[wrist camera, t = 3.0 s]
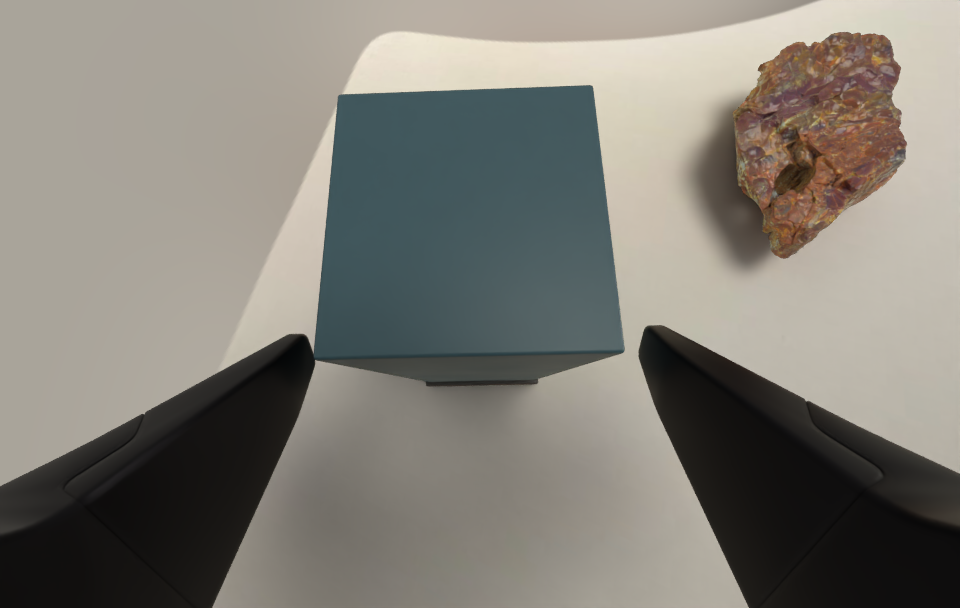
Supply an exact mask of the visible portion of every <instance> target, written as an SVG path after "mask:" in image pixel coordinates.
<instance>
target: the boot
mask: <svg viewBox="0 0 960 608" xmlns="http://www.w3.org/2000/svg"><path fill="white" fill-rule="evenodd" d="M624 350H625V348H624V340H623V332H622V323H621V315H620V307H619V299H618V290H617V282H616V274H615V265H614V257H613V249H612V241H611V232H610V224H609V216H608V207H607V199H606V191H605V182H604V174H603V166H602V158H601V149H600V141H599V133H598V124H597V116H596V108H595V100H594V91H593V87H592V86H591V85H586V86H559V87H532V88H505V89H478V90H451V91H424V92H397V93H370V94H343V95H339V96H338V103H337V114H336V124H335V135H334V145H333V156H332V166H331V177H330V187H329V198H328V208H327V219H326V229H325V240H324V250H323V261H322V271H321V282H320V293H319V303H318V314H317V324H316V335H315V345H314V359H315V360H317V361H323V362H328V363H333V364H338V365H343V366H349V367H354V368H359V369H364V370H369V371H375V372H380V373H385V374H390V375H395V376H401V377H406V378H411V379H416V380H421V381H426V386H477V385H524V384H537V383H538V378H542V377H545V376H548V375H552V374H555V373H558V372H562V371H565V370H568V369H572V368H575V367H578V366H581V365H585V364H588V363H591V362H595V361H598V360H601V359H605V358H608V357H611V356H615V355H618V354H621V353H623V352H624Z"/></svg>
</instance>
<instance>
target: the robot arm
mask: <svg viewBox="0 0 960 608" xmlns="http://www.w3.org/2000/svg"><path fill="white" fill-rule="evenodd" d="M639 360H640V363H641V366H642V369H643V372H644V375H645V378H646V381H647V384H648V387H649V390H650V393H651V396H652V399H653V402H654V405H655V407H656V410H657V412H658V415H659V417H660V419H661V421H662V423H663V425H664V428H665V430H666V432H667V434H668V436H669V438H670V440H671V442H672V445H673V447H674V449H675V451H676V453H677V455H678V457H679V460H680V462H681V464H682V466H683V468H684V470H685V472H686V474H687V477H688V479H689V481H690V483H691V485H692V487H693V489H694V492H695V494H696V496H697V498H698V500H699V502H700V504H701V506H702V509H703V511H704V513H705V515H706V517H707V519H708V521H709V523H710V526H711V528H712V530H713V532H714V534H715V536H716V538H717V541H718V543H719V545H720V547H721V549H722V551H723V553H724V555H725V558H726V560H727V562H728V564H729V566H730V568H731V570H732V573H733V575H734V577H735V579H736V581H737V583H738V585H739V587H740V590H741V592H742V594H743V596H744V598H745V600H746V602H747V605H748V607H749V608H960V474H959V473H957V472H955V471H953V470H950V469H948V468H946V467H944V466H942V465H940V464H937V463H935V462H933V461H931V460H929V459H927V458H925V457H922V456H920V455H918V454H916V453H914V452H912V451H909V450H907V449H905V448H903V447H901V446H899V445H896V444H894V443H892V442H890V441H888V440H886V439H884V438H882V437H880V436H878V435H875V434H873V433H871V432H869V431H867V430H865V429H863V428H861V427H859V426H857V425H855V424H853V423H851V422H849V421H847V420H845V419H843V418H841V417H839V416H837V415H835V414H833V413H831V412H829V411H827V410H825V409H823V408H821V407H819V406H817V405H815V404H813V403H812V402H810V401H805V399H804V398H802V397H800V396H798V395H796V394H794V393H792V392H790V391H788V390H786V389H784V388H782V387H781V386H779V385H777V384H775V383H773V382H771V381H769V380H767V379H765V378H763V377H761V376H759V375H757V374H755V373H754V372H752V371H750V370H748V369H746V368H744V367H742V366H740V365H738V364H736V363H734V362H732V361H730V360H729V359H727V358H725V357H723V356H721V355H719V354H717V353H715V352H713V351H711V350H709V349H707V348H705V347H703V346H702V345H700V344H698V343H696V342H694V341H692V340H690V339H688V338H686V337H684V336H682V335H680V334H678V333H677V332H675V331H673V330H671V329H669V328H667V327H665V326H662V325H654V326H647V327H646V328H645V329H644V332H643V336H642V340H641V344H640V348H639ZM314 367H315V359H314V354H313V351H312V348H311V345H310V343H309V340H308V337H307V336H306V335H304V334H289V335H286V336H285V337H283V338H281V339H279V340H277V341H275V342H274V343H272V344H270V345H268V346H266V347H264V348H263V349H261V350H259V351H257V352H255V353H253V354H252V355H250V356H248V357H246V358H244V359H242V360H241V361H239V362H237V363H235V364H233V365H231V366H230V367H228V368H226V369H224V370H222V371H220V372H218V373H217V374H215V375H213V376H211V377H209V378H207V379H206V380H204V381H202V382H200V383H199V384H196V385H195V386H193V387H191V388H189V389H187V390H185V391H184V392H182V393H180V394H178V395H176V396H174V397H173V398H171V399H169V400H167V401H165V402H163V403H161V404H160V405H158V406H156V407H154V408H152V409H151V410H149V411H147V412H146V413H145V415H144V414H141V415H139V416H137V417H136V418H134V419H132V420H130V421H128V422H126V423H125V424H123V425H121V426H119V427H117V428H115V429H113V430H111V431H110V432H108V433H106V434H104V435H102V436H100V437H98V438H96V439H94V440H93V441H91V442H89V443H87V444H85V445H83V446H81V447H79V448H77V449H75V450H73V451H71V452H69V453H67V454H65V455H63V456H61V457H59V458H57V459H55V460H53V461H51V462H49V463H47V464H45V465H43V466H41V467H38V468H36V469H34V470H33V471H30V472H29V473H26V474H24V475H22V476H20V477H18V478H16V479H14V480H12V481H10V482H8V483H6V484H4V485H2V486H0V608H212V606H213V604H214V602H215V600H216V598H217V595H218V593H219V591H220V589H221V586H222V584H223V582H224V580H225V578H226V575H227V573H228V571H229V569H230V567H231V564H232V562H233V560H234V558H235V556H236V553H237V551H238V549H239V547H240V544H241V542H242V540H243V538H244V536H245V533H246V531H247V529H248V527H249V525H250V522H251V520H252V518H253V516H254V514H255V511H256V509H257V507H258V505H259V503H260V500H261V498H262V496H263V494H264V491H265V489H266V487H267V485H268V483H269V480H270V478H271V476H272V474H273V472H274V469H275V467H276V465H277V463H278V461H279V458H280V456H281V454H282V452H283V449H284V447H285V445H286V443H287V441H288V438H289V436H290V434H291V432H292V430H293V427H294V425H295V423H296V420H297V418H298V416H299V413H300V410H301V407H302V404H303V401H304V398H305V395H306V392H307V389H308V386H309V383H310V379H311V376H312V373H313V370H314Z"/></svg>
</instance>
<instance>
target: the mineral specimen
mask: <svg viewBox="0 0 960 608" xmlns="http://www.w3.org/2000/svg"><path fill="white" fill-rule="evenodd" d="M893 55H894V54H893V49H892V46H891V42H890V40H888V38H886V37H885V36H884V35H876V34H865V35H862V36H861V34H860V33H855V34H851V33H849V32H838V33H834V34H831V35H830V36H829V37H828V38H826V39H825V40H824V41H822V43H817V42H814V43H813V44H812V45H811V46H808V47H807V46H806V45H805V43H804V42H796V43H793V44H792V45H790V46H787V47H786V48H785V49H783V50H781V52H780V54H779V55H778V56H776V57H775V58H774V60H771V61H768V62H766V63H763V64H761V65H760V66H759V68H758V71H760V72H761V75H760V77H759V78H758V84H757V87H755V88H754V89H753V90H752V91H751V93H750V95H749V96H748V97H747V98H746V100H745V102H744V103H742V104H741V105H740V107H738V109H737V110H735V111H734V112H733V116H734V122H735V126H734V128H735V145H736V154H737V165H736V170H737V172H738V186H740V187H741V189H742V191H743V193H744V194H746V195H747V196H748V197H749V198H751V199H753V200H754V201H755V202H756V203H757V204H758V206H759V207H760V209H761V210H762V211H761V212H762V213H763V214H764V219H763V232H765V233H766V234H767V233H770V232H771V233H770V236H769V240H770V247H771V251H772V252H773V253H774V254H775V255H776V256H778V257H780V258H788V257H789V256H791V255H793V254H795V253H797V251H798V250H799V249H801V248H802V247H804V245H805V244H807V243H808V242H810V241H812V240H813V239H814V238H815V237H816V236H817V234H818V233H819V232H820V231H821V230H822V229H824V228H826V227H828V226H829V225H830V224H831V223H832V222H833V221H834V220H835V219H836V218H837V217H838V215H840V213H841V212H842V211H843V210H845V209H847V208H848V207H850V206H852V205H855V204H857V203H858V202H860V201H862V200H864V199H865V198H867V197H868V196H869V195H871V194H872V193H873V192H875V191H877V190H878V189H879V188H880V187H882V186H883V185H885V184H886V183H887V182H888V181H889V180H890V179H891V178H892V176H893V175H894V174H895V173H896V172H897V168H898V167H899V166H901V165H902V164H903V162H904V161H905V159H906V157H905V152H906V150H905V149H906V146H907V142H906V141H905V139H904V136H903V134H902V133H901V131H900V129H899V126H900V124H901V115H902V113H901V111H900V110H899V109H897V108H895V106H894V104H893V102H892V99H891V98H892V95H893V94H892V91H893V89H894V87H895V86H896V84H897V82H898V79H899V74H900V70H901V67H900V66H899V65H898V63H897V62H895V60H894V59H893ZM782 193H783V195H778V194H782Z"/></svg>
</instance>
